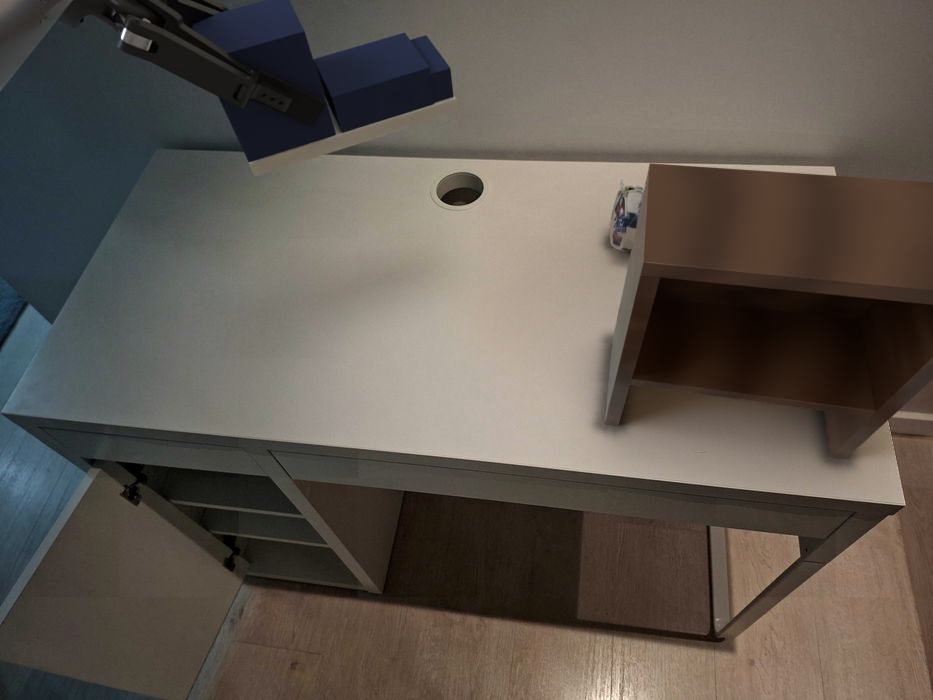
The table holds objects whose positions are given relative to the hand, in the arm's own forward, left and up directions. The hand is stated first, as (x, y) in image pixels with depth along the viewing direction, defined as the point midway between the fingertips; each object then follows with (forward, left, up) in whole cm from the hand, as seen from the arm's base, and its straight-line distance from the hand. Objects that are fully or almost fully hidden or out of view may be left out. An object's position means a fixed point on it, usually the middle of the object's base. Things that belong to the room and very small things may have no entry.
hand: (308, 91), depth 59 cm
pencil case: (+26, -37, -31) cm, 55 cm away
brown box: (+3, -47, -31) cm, 57 cm away
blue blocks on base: (+2, -2, -5) cm, 6 cm away
